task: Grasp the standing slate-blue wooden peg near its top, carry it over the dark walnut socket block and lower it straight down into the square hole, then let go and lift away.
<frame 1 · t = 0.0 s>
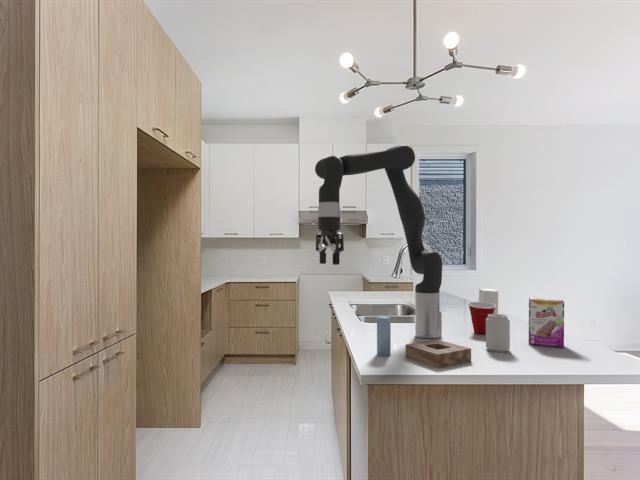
hand: (329, 264, 143), 29 cm above the table, fingers open, 8 cm apart
skincare box: (488, 324, 191), on the table
plastic cup: (482, 333, 171), on the table
socket block: (437, 359, 133), on the table
peg: (383, 354, 138), on the table
candy bar box: (546, 345, 151), on the table
can: (497, 350, 144), on the table
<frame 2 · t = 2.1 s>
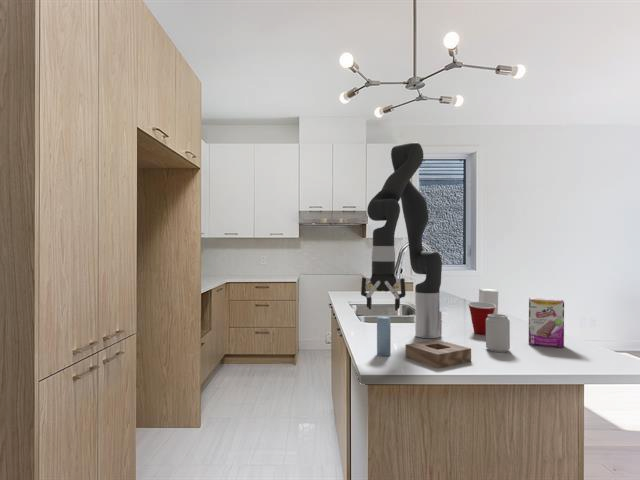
hand: (383, 309, 138), 15 cm above the table, fingers open, 8 cm apart
nothing on the table moved.
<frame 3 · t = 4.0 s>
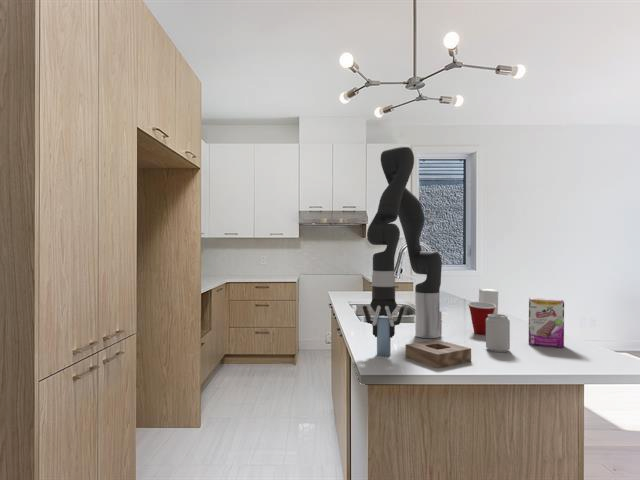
hand: (383, 336, 138), 6 cm above the table, fingers closed on peg, 4 cm apart
peg: (383, 354, 138), on the table, touching gripper
everything else where it was.
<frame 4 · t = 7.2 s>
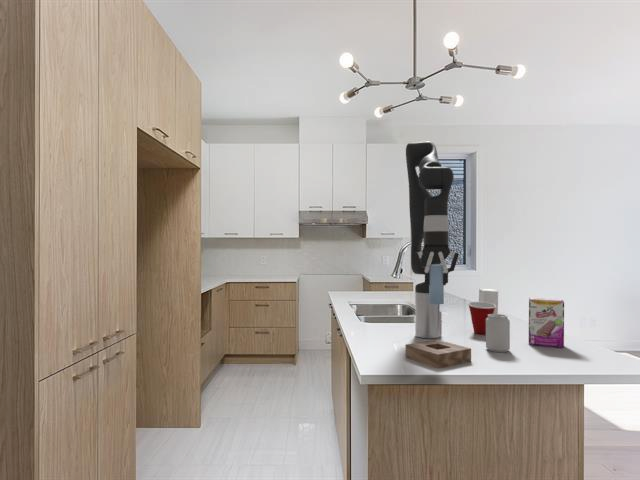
hand: (436, 284, 133), 23 cm above the table, fingers closed on peg, 4 cm apart
peg: (436, 303, 133), point 17 cm above the table, touching gripper
everything else where it was.
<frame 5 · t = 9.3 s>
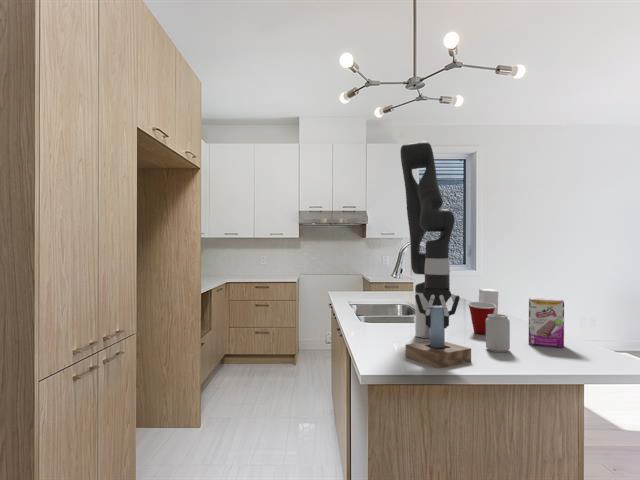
hand: (437, 327, 133), 10 cm above the table, fingers closed on peg, 4 cm apart
peg: (437, 345, 132), point 4 cm above the table, touching gripper
everything else where it was.
when the fingers open (7 cm above the table, at t = 10.8 s): peg stays where it is, resting in socket block.
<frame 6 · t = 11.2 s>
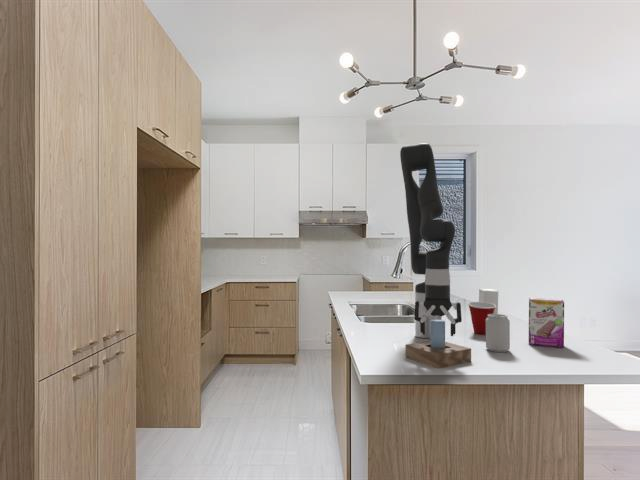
hand: (437, 335, 133), 8 cm above the table, fingers open, 8 cm apart
peg: (437, 359, 132), resting in socket block
everything else where it was.
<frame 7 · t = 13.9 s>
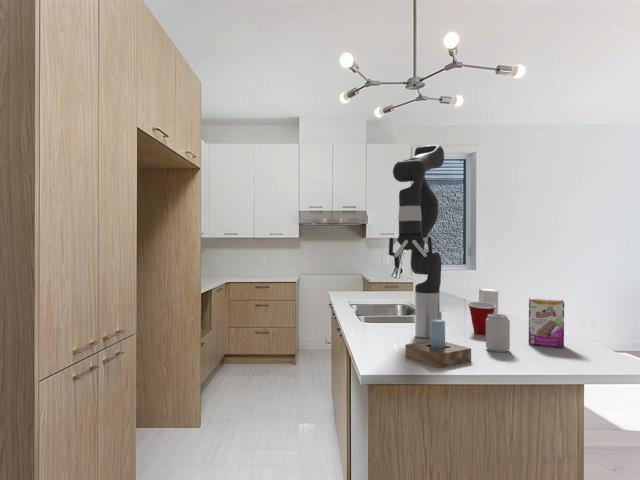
hand: (410, 268, 142), 28 cm above the table, fingers open, 8 cm apart
nothing on the table moved.
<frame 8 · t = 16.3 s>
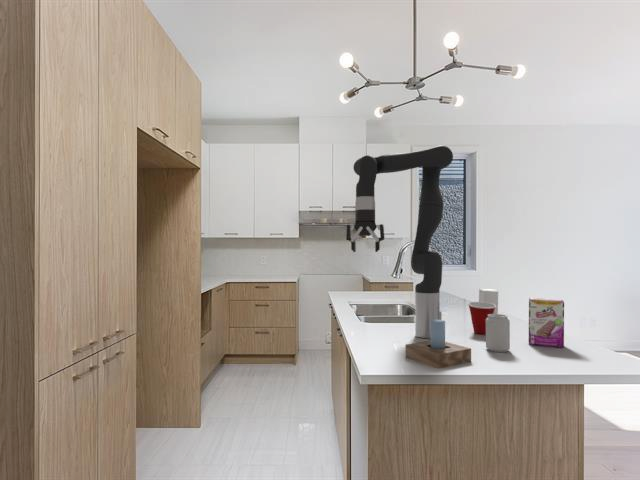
hand: (365, 251, 161), 33 cm above the table, fingers open, 8 cm apart
nothing on the table moved.
at the end: peg 0.1 cm off-centre on the socket block, point 0.0 cm above the socket block's base; peg tilted 0°; the gripper is holding nothing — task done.
